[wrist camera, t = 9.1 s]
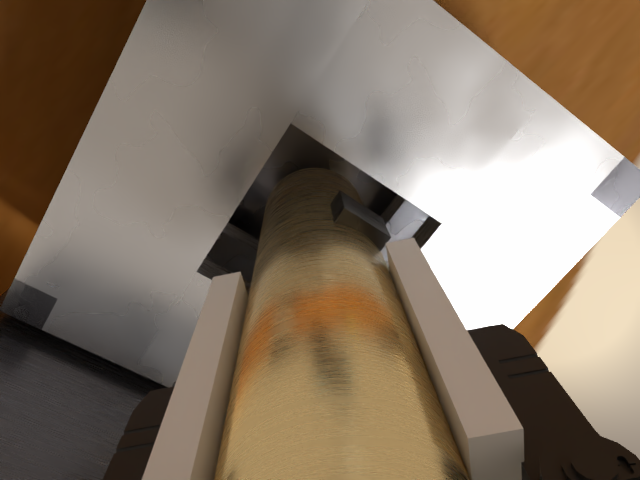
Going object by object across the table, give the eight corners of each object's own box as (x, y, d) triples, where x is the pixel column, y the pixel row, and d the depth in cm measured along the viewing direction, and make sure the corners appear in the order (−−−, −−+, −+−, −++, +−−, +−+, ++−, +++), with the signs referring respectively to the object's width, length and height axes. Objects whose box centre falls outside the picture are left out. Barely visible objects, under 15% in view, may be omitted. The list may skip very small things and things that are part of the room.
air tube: (327, 276, 20) (407, 924, 5) (246, 229, 19) (74, 874, 4) (388, 195, 19) (714, 765, 4) (304, 140, 18) (338, 638, 3)
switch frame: (251, -109, 18) (145, -432, 6) (552, 130, 23) (875, 253, 10) (69, 247, 24) (-187, 485, 11) (337, 383, 29) (370, 666, 16)
